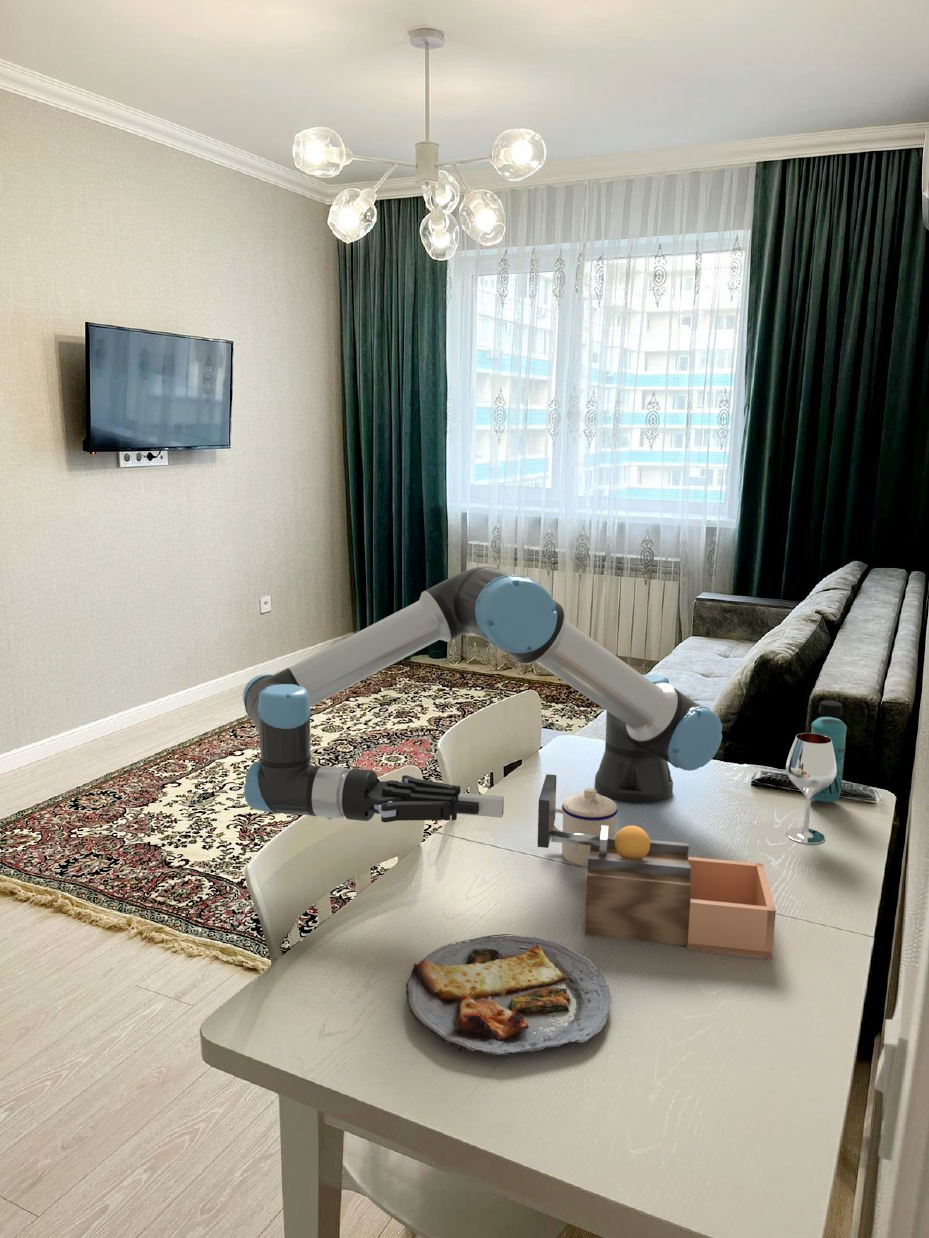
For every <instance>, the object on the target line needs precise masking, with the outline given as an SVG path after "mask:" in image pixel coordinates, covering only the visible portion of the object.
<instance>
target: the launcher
mask: <svg viewBox="0 0 929 1238" xmlns="http://www.w3.org/2000/svg"><path fill="white" fill-rule="evenodd" d="M615 837H616V836H615ZM615 837H612V836H608V849H607V857H600V856H599V851H600V846H591V848H590V855H588V866H587V870H586V883H585V885H586V886H585V907H584V908H585V910H584V911H585V913H584V935H585V936H594V937H601V938H602V937H604V938H613V939H622V940H629V941H630V940H631V941H640V942H641V941H642V942H648V943H658V944H667V945H676V946H685V947H686V946H687V940H688V924H689V907H690V892H691V881H690V874H691V865H689V860H688V857H689V848H690V846H689V842H678V841H666V840H656V839H655V840H654V839H649V840H650V849H649V852H648V854H647V855H646V856H645V857H644V858H643V859H642V860H632V859H623V858H622V857H620V856H619V854H618V853H617V851H616V849H615Z"/></svg>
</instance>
